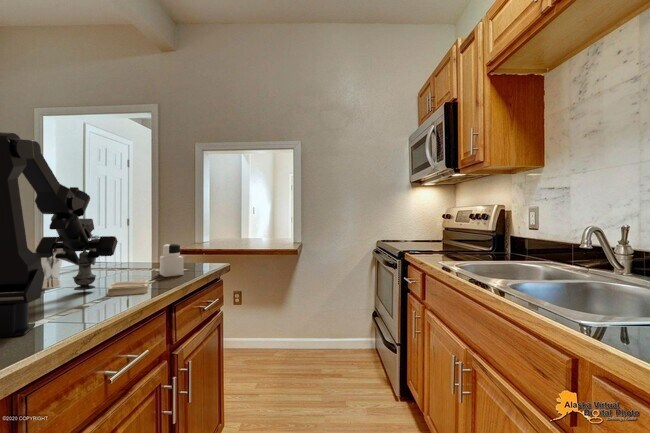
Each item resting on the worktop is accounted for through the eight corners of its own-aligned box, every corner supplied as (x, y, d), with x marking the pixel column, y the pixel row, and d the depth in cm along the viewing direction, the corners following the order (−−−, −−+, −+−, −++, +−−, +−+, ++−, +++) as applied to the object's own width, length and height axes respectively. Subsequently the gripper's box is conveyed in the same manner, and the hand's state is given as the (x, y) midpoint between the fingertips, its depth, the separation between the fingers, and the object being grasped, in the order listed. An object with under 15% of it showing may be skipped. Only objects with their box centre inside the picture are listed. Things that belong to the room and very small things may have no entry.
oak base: (147, 292, 101) (147, 285, 101) (108, 296, 97) (108, 288, 97) (148, 286, 110) (148, 279, 110) (113, 288, 106) (113, 282, 106)
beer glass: (30, 288, 106) (30, 241, 106) (56, 284, 112) (56, 239, 112) (40, 290, 103) (41, 242, 103) (66, 286, 109) (67, 240, 109)
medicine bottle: (178, 272, 136) (178, 243, 136) (183, 275, 130) (183, 244, 130) (159, 274, 131) (159, 244, 131) (164, 277, 126) (164, 245, 126)
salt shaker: (84, 290, 97) (84, 249, 97) (67, 289, 98) (67, 249, 98) (101, 286, 103) (101, 247, 103) (85, 286, 104) (85, 247, 104)
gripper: (115, 209, 99) (126, 243, 110) (41, 208, 94) (60, 244, 105) (105, 237, 92) (118, 271, 102) (24, 237, 87) (46, 273, 97)
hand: (86, 264), depth 102 cm, fingers closed on salt shaker, 4 cm apart
